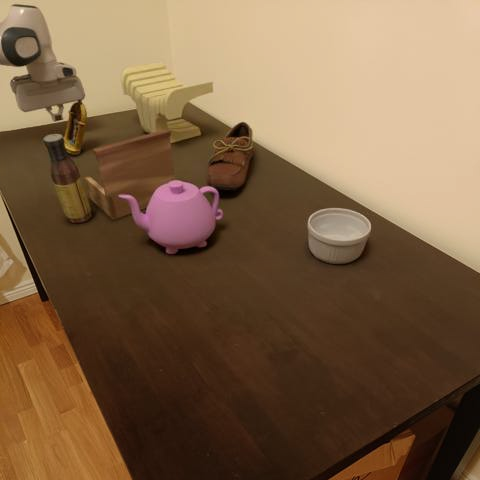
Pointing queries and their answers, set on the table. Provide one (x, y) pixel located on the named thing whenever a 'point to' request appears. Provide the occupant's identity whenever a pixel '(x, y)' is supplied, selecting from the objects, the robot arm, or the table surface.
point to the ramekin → (337, 235)
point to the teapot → (178, 215)
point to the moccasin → (231, 159)
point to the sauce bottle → (67, 181)
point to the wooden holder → (131, 172)
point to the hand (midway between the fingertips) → (58, 120)
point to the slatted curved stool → (161, 99)
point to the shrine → (75, 128)
